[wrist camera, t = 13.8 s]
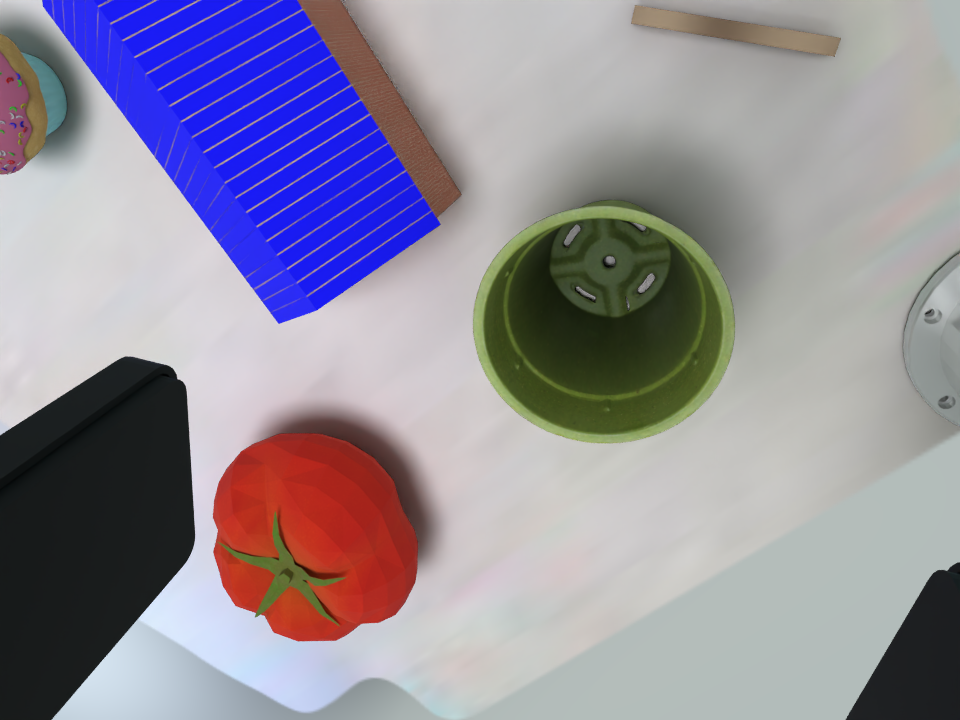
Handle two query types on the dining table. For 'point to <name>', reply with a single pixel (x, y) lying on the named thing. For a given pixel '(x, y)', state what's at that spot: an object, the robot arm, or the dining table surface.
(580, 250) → the plant pot
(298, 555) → the tomato
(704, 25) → the rails
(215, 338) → the dining table surface
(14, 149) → the cupcake
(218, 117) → the house
